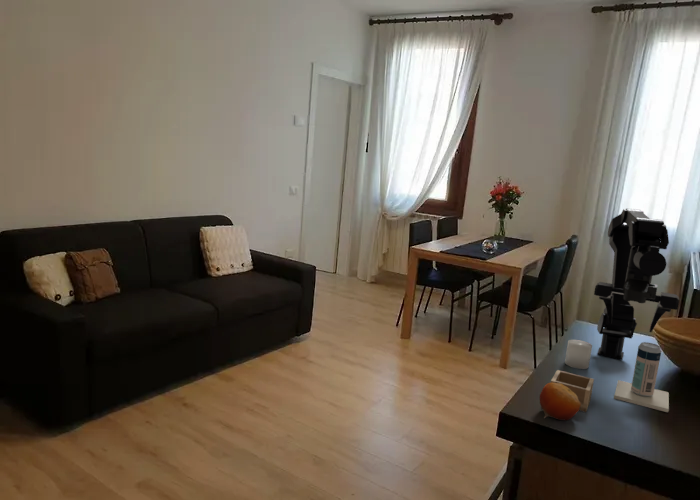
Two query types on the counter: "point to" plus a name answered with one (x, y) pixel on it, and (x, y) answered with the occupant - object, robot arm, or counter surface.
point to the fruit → (559, 401)
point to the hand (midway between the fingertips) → (630, 327)
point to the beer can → (646, 369)
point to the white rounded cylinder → (578, 354)
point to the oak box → (576, 386)
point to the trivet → (642, 397)
